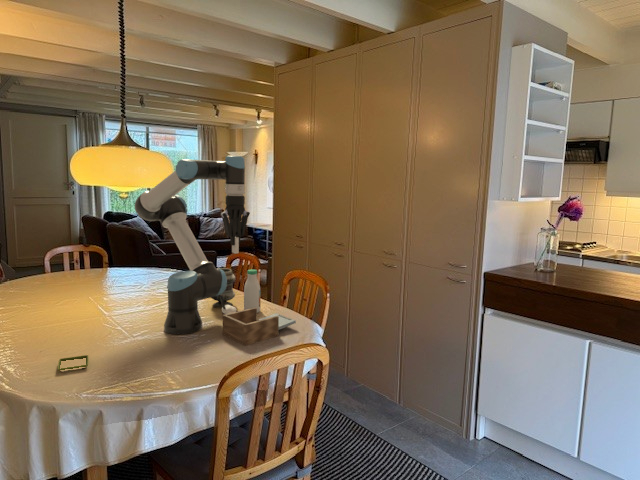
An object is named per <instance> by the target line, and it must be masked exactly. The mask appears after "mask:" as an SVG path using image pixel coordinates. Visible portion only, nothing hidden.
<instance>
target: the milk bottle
mask: <svg viewBox="0 0 640 480" xmlns="http://www.w3.org/2000/svg"><path fill="white" fill-rule="evenodd" d="M246 271H247V272H246V273H247V279H246V281H245V283H244V287H243V310H247V309H251V308H257V314H258V313H260V312H261V285H260V282H259V280H258V270H257V269H255V268H254V269H252V268H251V269H248V270H246Z"/></svg>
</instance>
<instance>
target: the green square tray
mask: <svg viewBox="0 0 640 480" xmlns="http://www.w3.org/2000/svg"><path fill="white" fill-rule="evenodd" d="M89 357H90V356H89V354H88V355H87V354H86V355H78V356H70V357H64V358H59V360H58V364H57V370H58V371H59V370H65V369H73V368H79V367H86V368H87V367H88V365H89ZM83 358H86V365H81V366H74V367H67V368H61V369H60V365H61V361H66V360H74V359H83Z"/></svg>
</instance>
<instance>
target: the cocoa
mask: <svg viewBox="0 0 640 480" xmlns="http://www.w3.org/2000/svg"><path fill="white" fill-rule="evenodd" d="M219 298H220V300H221V303H222V306H223V307H222V308H221V315H225V314H229V313H234V312H238V310H237V307H235V306H234V305H233V306H231V305H224V302H223V299H222V296H221V295H219Z"/></svg>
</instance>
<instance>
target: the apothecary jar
mask: <svg viewBox="0 0 640 480" xmlns="http://www.w3.org/2000/svg"><path fill="white" fill-rule="evenodd" d="M219 269H222V270H223V271H224V272H225V274H226V277H227V286H226V289H225V291H224V292H223V293H222V294H220V295H221V296H222V299H223V302H224V305H231V306H233V307H234V304H233V303H232V302H230V301H231V300H232V299H234V298H235V297H236V292H235V291H234V287H233V282H234V281H235V280H236V276H235V274H234V273H233V270H232V269H230V268H225V267H223V268H222V267H221V268H219ZM211 299H212V300H213V301H216V302H214V303H213V304H212V307H213V308H215V309H222V307H223V306H222V303H221V300H220V298H219V295H217V296H215V297H211Z"/></svg>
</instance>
